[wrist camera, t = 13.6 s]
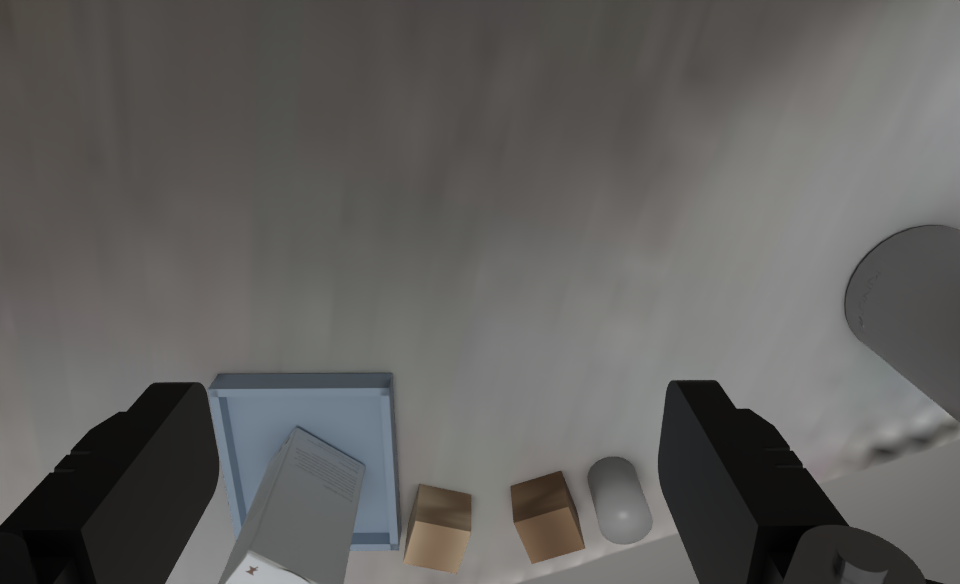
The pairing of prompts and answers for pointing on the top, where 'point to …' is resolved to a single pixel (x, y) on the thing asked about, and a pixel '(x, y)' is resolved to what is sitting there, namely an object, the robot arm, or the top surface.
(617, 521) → the grey capsule
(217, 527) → the top surface
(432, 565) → the beech block
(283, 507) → the skincare box
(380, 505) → the tray
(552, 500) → the walnut block
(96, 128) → the top surface
